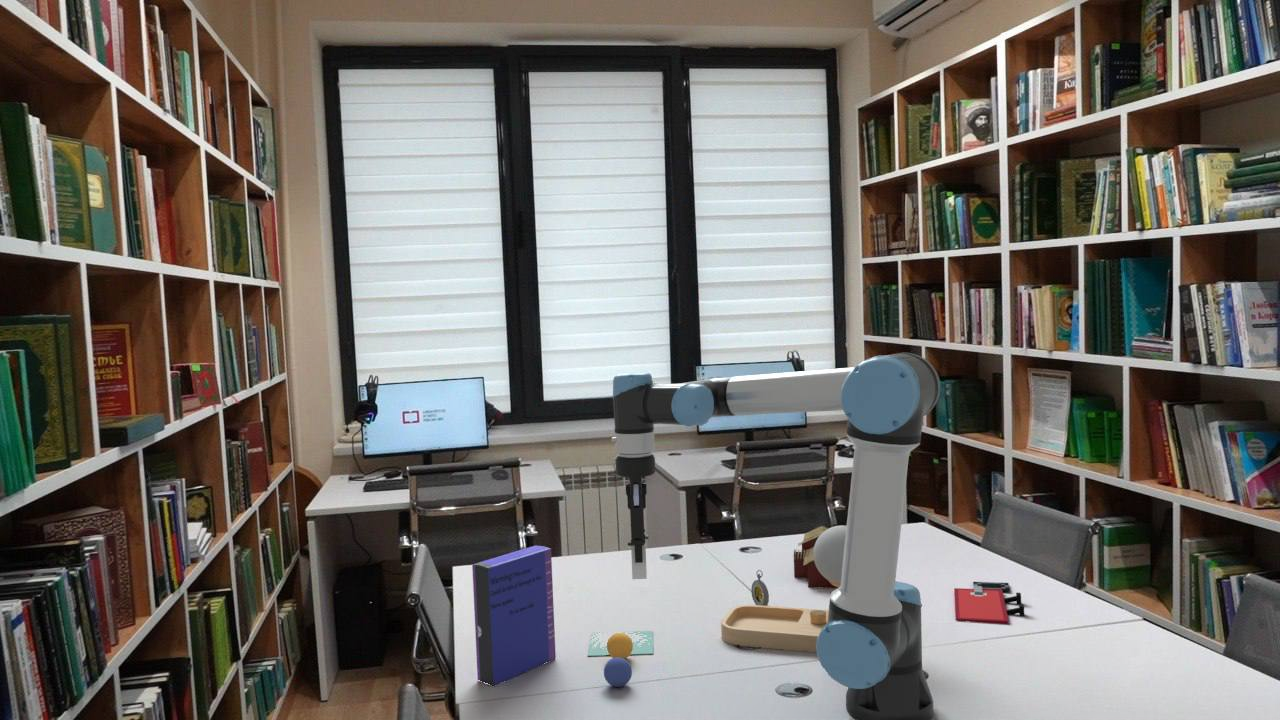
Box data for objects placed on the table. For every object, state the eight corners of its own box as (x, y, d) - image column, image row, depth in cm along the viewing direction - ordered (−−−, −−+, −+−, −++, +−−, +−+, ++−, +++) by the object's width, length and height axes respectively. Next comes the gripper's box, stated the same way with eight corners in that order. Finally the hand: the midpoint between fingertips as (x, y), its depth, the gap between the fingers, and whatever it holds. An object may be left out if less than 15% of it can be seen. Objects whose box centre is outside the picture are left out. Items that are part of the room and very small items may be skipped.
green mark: (653, 654, 196) (653, 653, 196) (587, 656, 196) (587, 655, 196) (652, 631, 210) (652, 630, 210) (591, 633, 210) (591, 632, 210)
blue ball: (632, 691, 178) (631, 663, 177) (603, 692, 178) (602, 664, 177) (632, 679, 183) (631, 652, 183) (604, 680, 183) (603, 653, 183)
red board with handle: (1016, 586, 234) (954, 584, 239) (1015, 575, 234) (953, 573, 238) (1026, 628, 205) (955, 624, 210) (1026, 615, 205) (955, 612, 210)
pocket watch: (729, 616, 219) (727, 574, 219) (744, 605, 226) (743, 565, 226) (760, 621, 215) (759, 578, 214) (775, 610, 222) (774, 569, 221)
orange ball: (633, 663, 192) (632, 637, 191) (606, 664, 192) (605, 638, 191) (633, 653, 197) (632, 628, 197) (607, 654, 197) (606, 629, 197)
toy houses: (799, 554, 273) (798, 520, 273) (870, 555, 269) (870, 521, 268) (789, 601, 229) (788, 561, 229) (874, 604, 225) (873, 563, 224)
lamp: (716, 644, 201) (712, 530, 200) (734, 618, 217) (731, 512, 216) (871, 658, 190) (868, 537, 189) (879, 630, 206) (876, 518, 205)
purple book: (539, 654, 199) (535, 544, 198) (555, 659, 196) (550, 547, 195) (477, 681, 185) (472, 563, 184) (493, 686, 182) (488, 567, 181)
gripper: (616, 448, 183) (620, 566, 184) (613, 461, 167) (618, 588, 169) (654, 447, 183) (658, 564, 184) (655, 459, 167) (659, 587, 169)
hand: (639, 576), depth 176 cm, fingers open, 2 cm apart
